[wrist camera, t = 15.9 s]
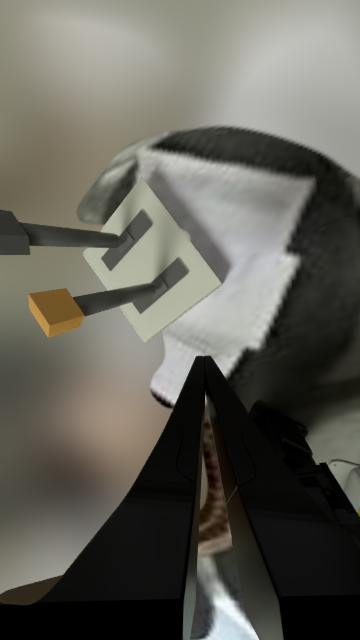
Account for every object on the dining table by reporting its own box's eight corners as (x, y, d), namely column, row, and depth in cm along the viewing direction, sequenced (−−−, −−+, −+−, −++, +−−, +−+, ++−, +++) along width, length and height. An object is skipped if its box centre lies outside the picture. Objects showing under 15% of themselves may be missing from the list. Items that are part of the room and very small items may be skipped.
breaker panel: (222, 285, 19) (217, 255, 6) (152, 338, 23) (54, 393, 10) (151, 191, 20) (0, -31, 6) (96, 258, 24) (-65, 209, 10)
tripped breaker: (163, 292, 17) (49, 325, 9) (155, 300, 18) (48, 337, 10) (151, 276, 17) (28, 293, 9) (145, 285, 18) (29, 309, 10)
